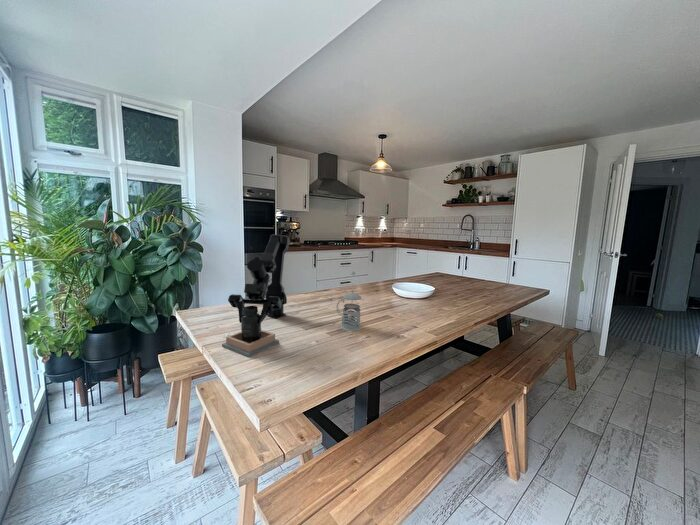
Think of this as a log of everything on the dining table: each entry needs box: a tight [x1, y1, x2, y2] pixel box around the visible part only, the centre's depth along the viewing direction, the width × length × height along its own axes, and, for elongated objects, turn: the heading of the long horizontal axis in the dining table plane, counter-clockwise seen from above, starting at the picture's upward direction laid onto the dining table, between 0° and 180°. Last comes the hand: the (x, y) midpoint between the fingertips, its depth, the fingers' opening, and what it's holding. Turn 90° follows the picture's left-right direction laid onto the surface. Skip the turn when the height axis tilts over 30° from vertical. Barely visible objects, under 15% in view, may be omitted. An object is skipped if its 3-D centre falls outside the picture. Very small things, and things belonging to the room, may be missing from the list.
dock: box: [221, 329, 280, 358], centre depth 104 cm, size 14×14×4 cm
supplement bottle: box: [240, 305, 262, 342], centre depth 103 cm, size 7×7×12 cm
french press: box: [336, 271, 363, 332], centre depth 124 cm, size 10×12×25 cm
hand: (249, 322), depth 102 cm, fingers closed on supplement bottle, 6 cm apart
